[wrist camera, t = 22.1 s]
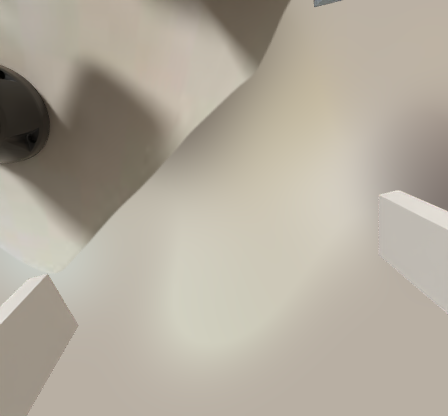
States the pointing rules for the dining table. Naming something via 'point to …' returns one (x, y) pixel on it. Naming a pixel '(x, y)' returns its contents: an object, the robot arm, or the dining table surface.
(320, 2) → the slate rail
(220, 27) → the dining table surface
